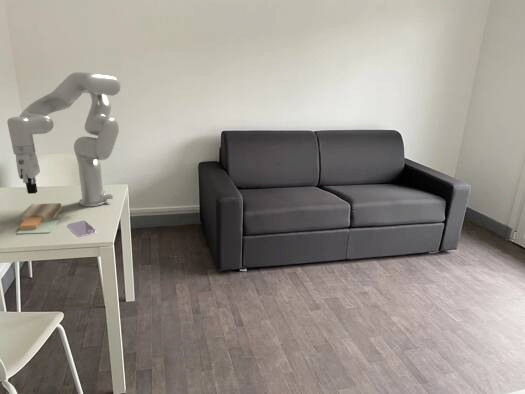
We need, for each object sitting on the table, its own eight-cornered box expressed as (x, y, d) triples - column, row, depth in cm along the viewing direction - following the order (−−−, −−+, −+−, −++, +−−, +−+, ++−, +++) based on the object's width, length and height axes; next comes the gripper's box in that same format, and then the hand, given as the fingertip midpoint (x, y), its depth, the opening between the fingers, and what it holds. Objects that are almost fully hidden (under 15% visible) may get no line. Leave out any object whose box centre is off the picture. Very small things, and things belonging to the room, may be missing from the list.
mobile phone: (85, 219, 172) (98, 231, 162) (85, 221, 173) (98, 233, 162) (66, 223, 167) (78, 236, 157) (66, 225, 168) (78, 238, 157)
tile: (43, 220, 170) (42, 216, 169) (36, 229, 162) (35, 225, 161) (27, 221, 169) (26, 217, 168) (19, 230, 160) (19, 225, 160)
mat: (59, 221, 171) (59, 220, 171) (49, 233, 160) (49, 232, 160) (28, 221, 169) (28, 221, 169) (16, 234, 158) (16, 233, 158)
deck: (61, 209, 184) (60, 203, 183) (52, 221, 171) (51, 214, 170) (33, 210, 182) (32, 203, 181) (21, 222, 169) (19, 215, 168)
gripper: (27, 153, 152) (36, 199, 159) (40, 144, 166) (48, 186, 172) (5, 154, 151) (15, 199, 157) (20, 144, 165) (29, 187, 171)
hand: (32, 192), depth 165 cm, fingers closed
